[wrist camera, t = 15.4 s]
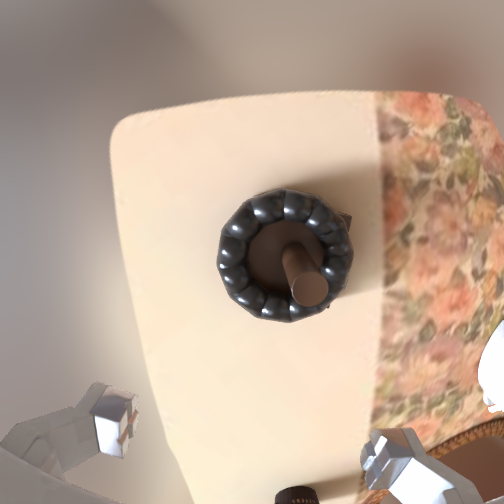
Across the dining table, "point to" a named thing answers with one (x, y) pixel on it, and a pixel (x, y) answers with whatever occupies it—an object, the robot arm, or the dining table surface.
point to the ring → (269, 212)
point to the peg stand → (290, 261)
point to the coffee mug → (297, 496)
